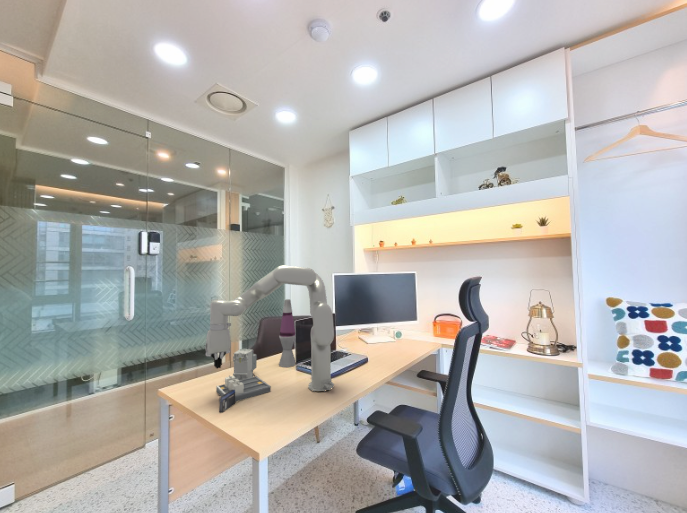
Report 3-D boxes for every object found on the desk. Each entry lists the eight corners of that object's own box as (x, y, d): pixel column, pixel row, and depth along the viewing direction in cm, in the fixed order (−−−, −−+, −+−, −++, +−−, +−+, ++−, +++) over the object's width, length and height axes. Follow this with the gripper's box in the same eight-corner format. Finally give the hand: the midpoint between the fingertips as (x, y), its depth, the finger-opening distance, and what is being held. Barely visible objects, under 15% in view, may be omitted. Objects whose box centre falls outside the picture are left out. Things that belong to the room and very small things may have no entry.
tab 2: (239, 389, 135) (239, 379, 135) (230, 391, 132) (230, 381, 133) (237, 387, 137) (237, 377, 138) (228, 389, 135) (228, 379, 135)
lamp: (281, 361, 183) (281, 298, 185) (298, 361, 182) (298, 298, 184) (276, 367, 172) (276, 300, 174) (293, 367, 171) (293, 300, 173)
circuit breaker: (257, 373, 162) (257, 346, 163) (246, 383, 148) (246, 353, 149) (244, 373, 163) (245, 346, 164) (232, 382, 149) (233, 353, 150)
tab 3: (243, 393, 131) (243, 382, 131) (234, 395, 128) (234, 385, 128) (241, 390, 133) (241, 380, 133) (232, 393, 130) (232, 383, 131)
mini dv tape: (222, 412, 117) (222, 397, 118) (219, 412, 118) (219, 397, 118) (235, 403, 125) (235, 389, 125) (232, 403, 126) (232, 389, 126)
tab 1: (235, 385, 139) (235, 376, 139) (226, 387, 137) (227, 378, 137) (233, 383, 142) (233, 374, 142) (224, 386, 139) (225, 376, 139)
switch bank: (270, 391, 137) (270, 385, 138) (227, 404, 125) (227, 397, 125) (256, 381, 151) (256, 375, 151) (216, 391, 138) (216, 385, 138)
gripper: (232, 324, 140) (231, 362, 139) (199, 327, 130) (198, 368, 129) (238, 326, 134) (237, 366, 133) (203, 330, 124) (202, 373, 123)
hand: (217, 367), depth 131 cm, fingers closed
